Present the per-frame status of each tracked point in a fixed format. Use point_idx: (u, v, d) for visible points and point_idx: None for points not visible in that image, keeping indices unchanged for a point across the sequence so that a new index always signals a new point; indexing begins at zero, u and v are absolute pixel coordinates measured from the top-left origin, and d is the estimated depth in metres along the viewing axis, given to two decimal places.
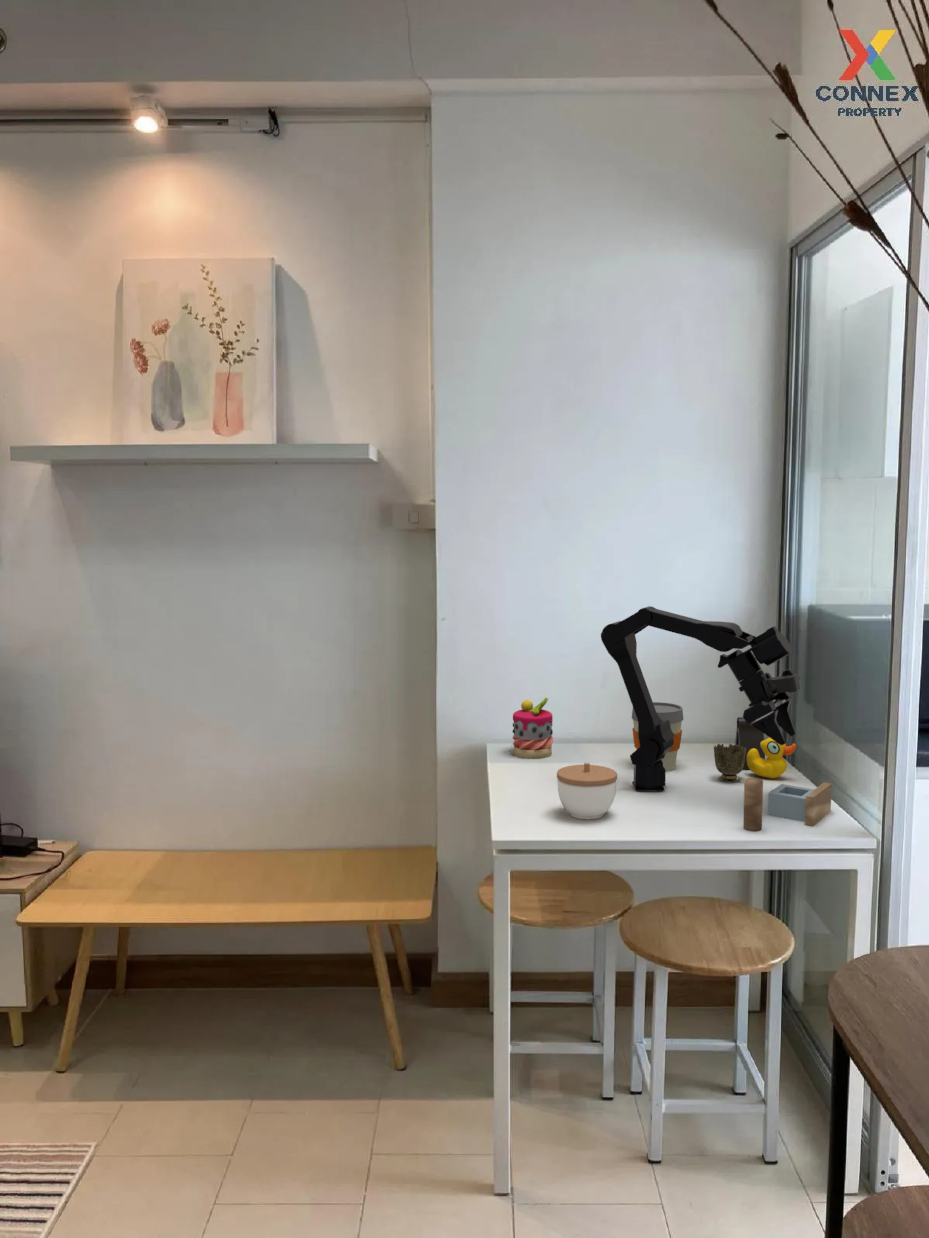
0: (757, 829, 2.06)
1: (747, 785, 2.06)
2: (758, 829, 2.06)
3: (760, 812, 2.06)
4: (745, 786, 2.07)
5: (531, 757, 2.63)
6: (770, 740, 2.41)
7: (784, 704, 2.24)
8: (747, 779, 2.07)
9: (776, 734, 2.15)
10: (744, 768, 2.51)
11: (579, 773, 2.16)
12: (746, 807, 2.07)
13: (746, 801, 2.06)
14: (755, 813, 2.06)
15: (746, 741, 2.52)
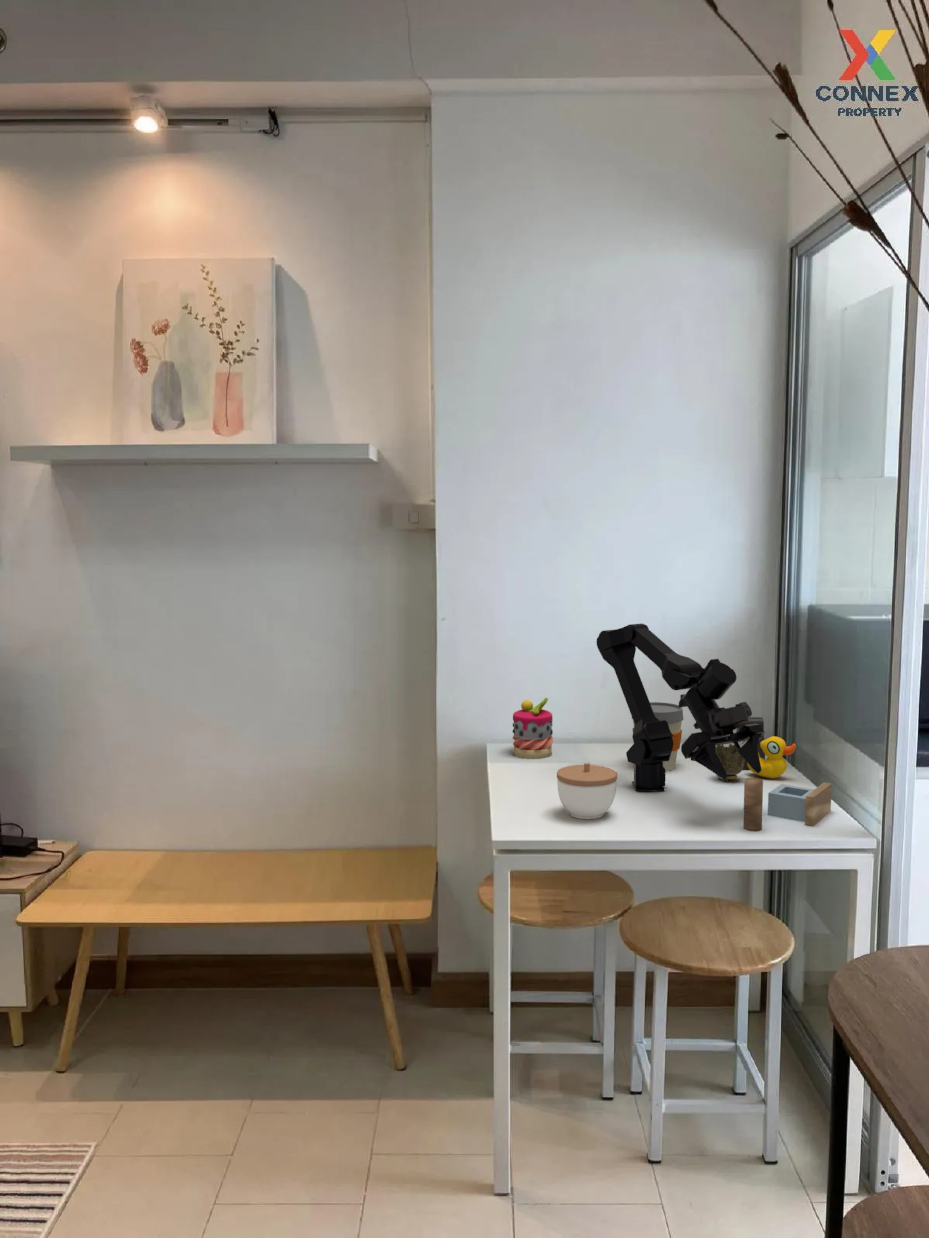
0: (757, 829, 2.06)
1: (747, 785, 2.06)
2: (758, 829, 2.06)
3: (760, 812, 2.06)
4: (745, 786, 2.07)
5: (531, 757, 2.63)
6: (770, 740, 2.41)
7: (749, 740, 2.14)
8: (747, 779, 2.07)
9: (716, 768, 2.08)
10: (744, 768, 2.51)
11: (579, 773, 2.16)
12: (746, 807, 2.07)
13: (746, 801, 2.06)
14: (755, 813, 2.06)
15: None
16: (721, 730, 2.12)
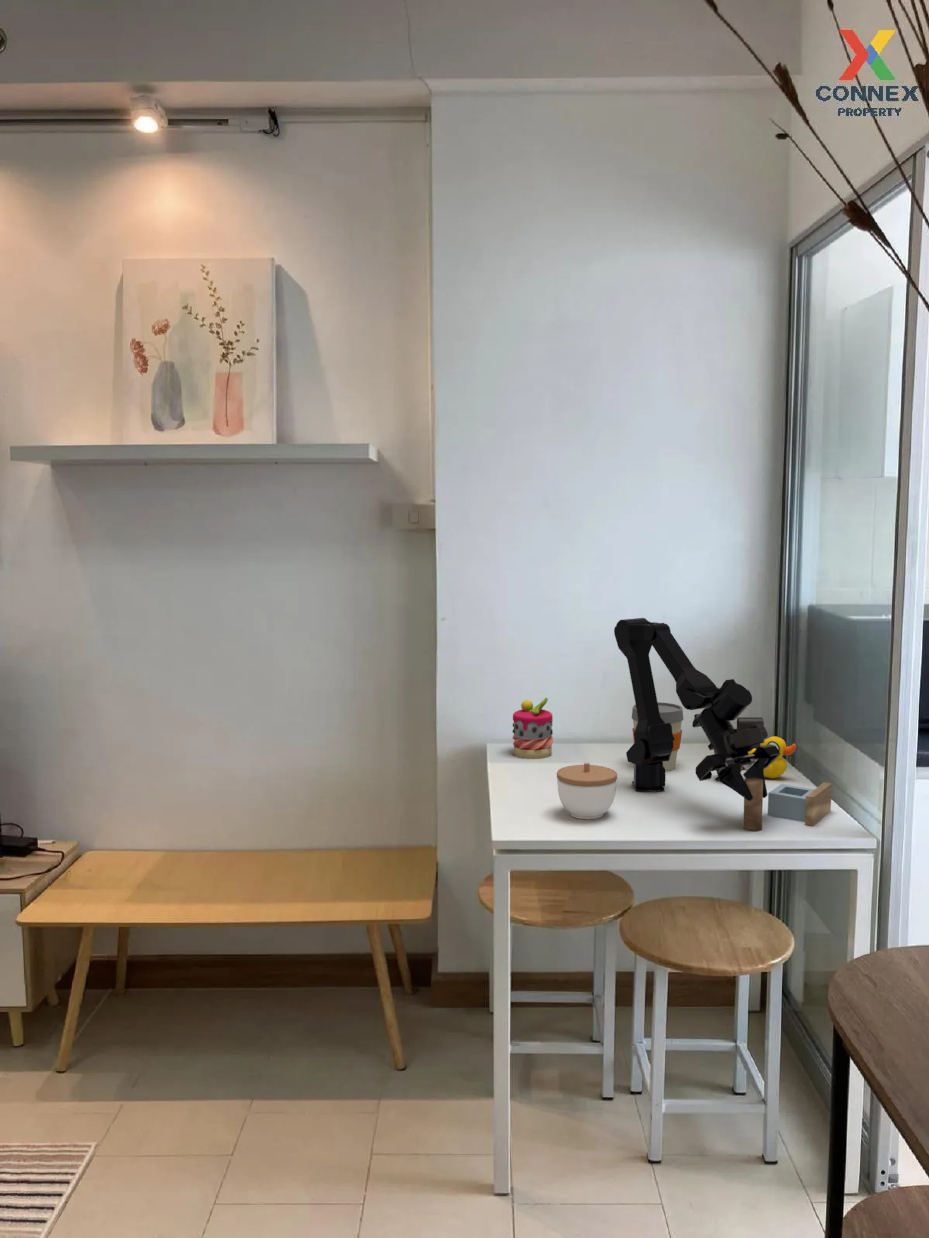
0: (757, 829, 2.06)
1: (747, 785, 2.06)
2: (758, 829, 2.06)
3: (760, 812, 2.06)
4: None
5: (531, 757, 2.63)
6: (770, 740, 2.41)
7: (755, 763, 2.09)
8: (747, 779, 2.07)
9: (741, 789, 2.06)
10: (744, 768, 2.51)
11: (579, 773, 2.16)
12: (746, 807, 2.07)
13: (746, 801, 2.06)
14: (755, 813, 2.06)
15: None
16: (736, 752, 2.09)
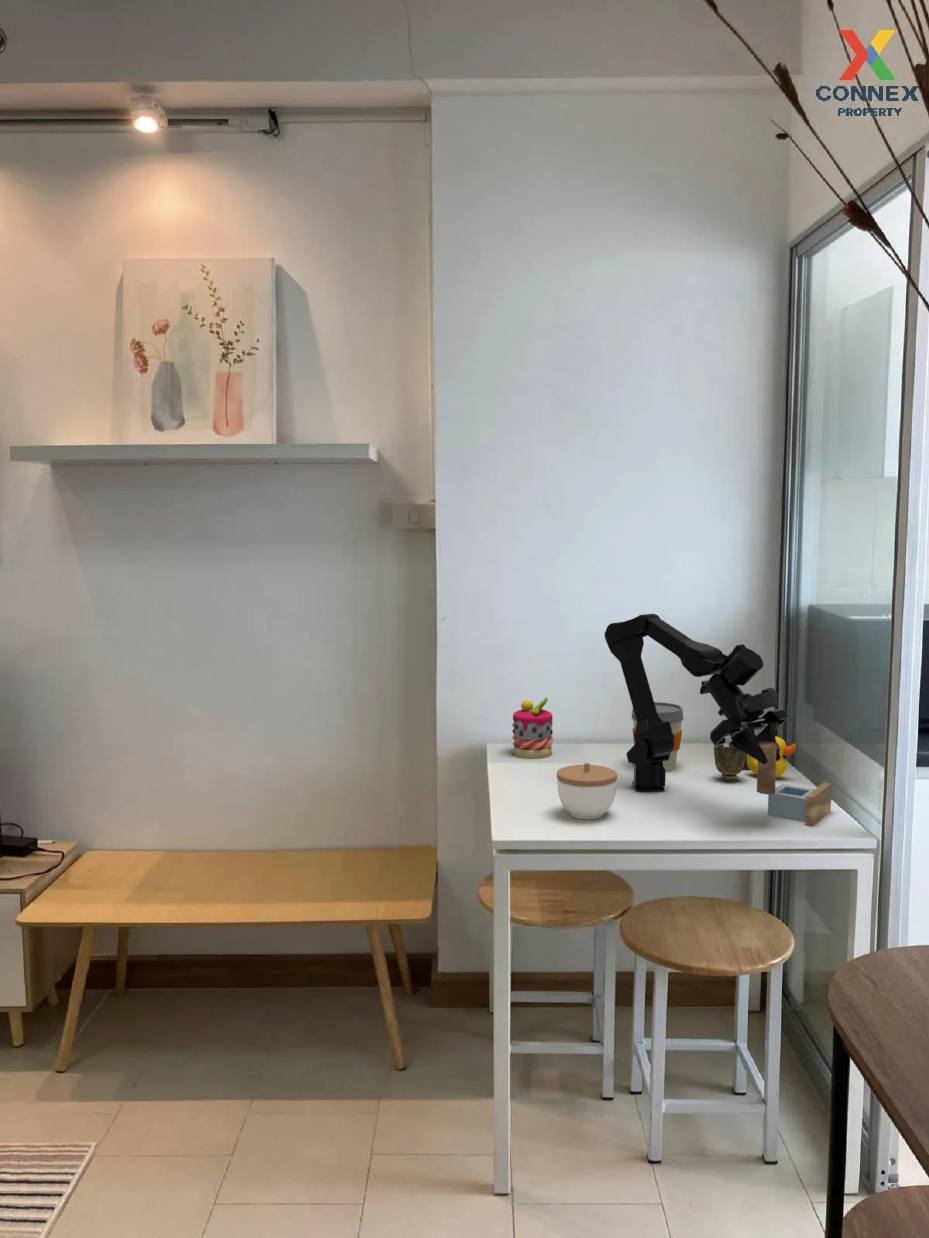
0: (771, 792, 2.07)
1: (761, 748, 2.07)
2: (772, 792, 2.08)
3: (774, 775, 2.07)
4: None
5: (531, 757, 2.63)
6: None
7: (766, 727, 2.11)
8: (760, 743, 2.08)
9: (756, 752, 2.07)
10: (744, 768, 2.51)
11: (579, 773, 2.16)
12: (760, 770, 2.08)
13: (760, 764, 2.07)
14: (770, 776, 2.07)
15: None
16: (749, 716, 2.09)
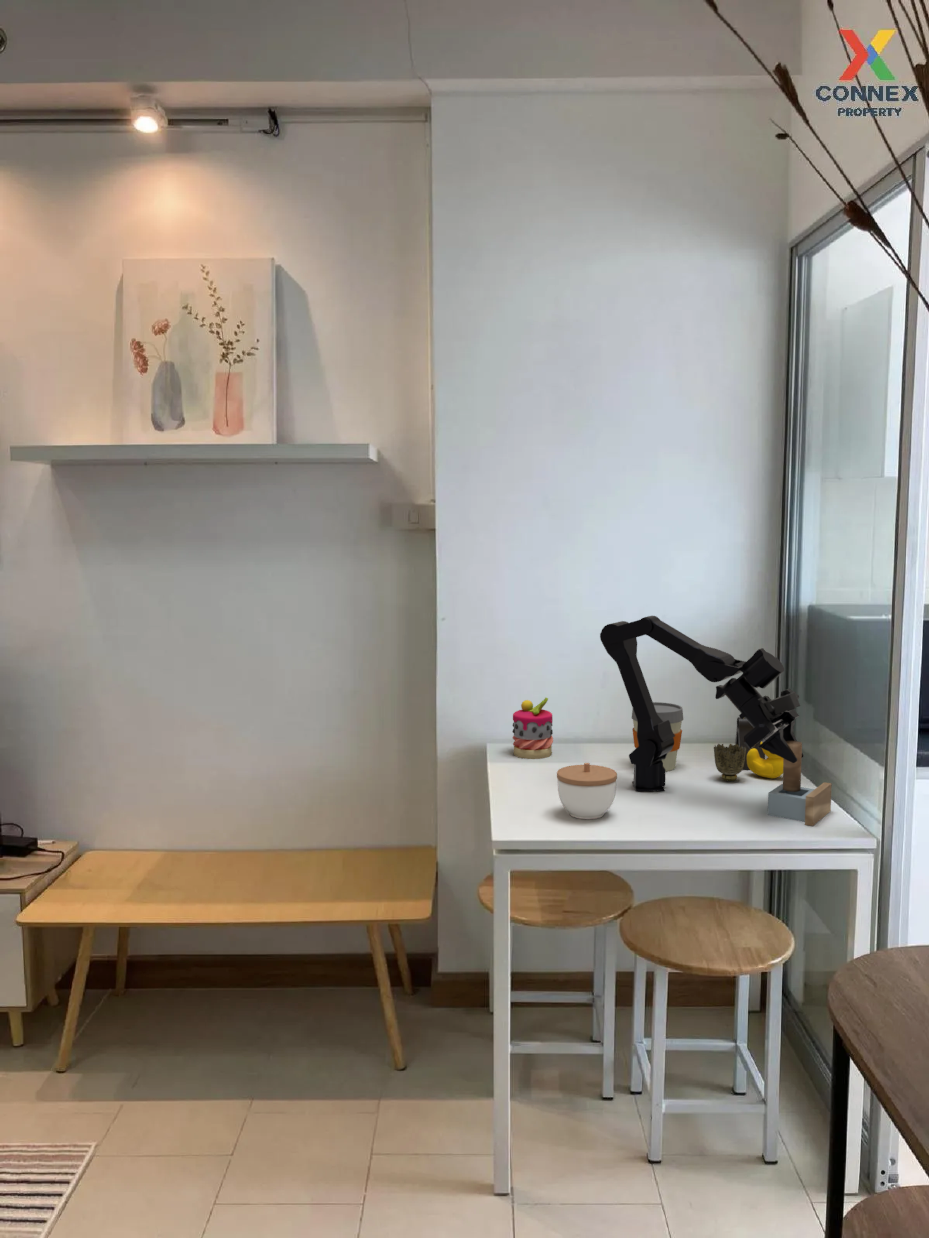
0: (799, 789, 2.15)
1: (790, 748, 2.14)
2: (799, 789, 2.16)
3: (800, 773, 2.15)
4: None
5: (531, 757, 2.63)
6: None
7: (787, 727, 2.18)
8: (787, 743, 2.15)
9: (786, 752, 2.14)
10: (744, 768, 2.51)
11: (579, 773, 2.16)
12: (789, 769, 2.15)
13: (789, 763, 2.15)
14: (798, 774, 2.15)
15: None
16: (774, 718, 2.16)
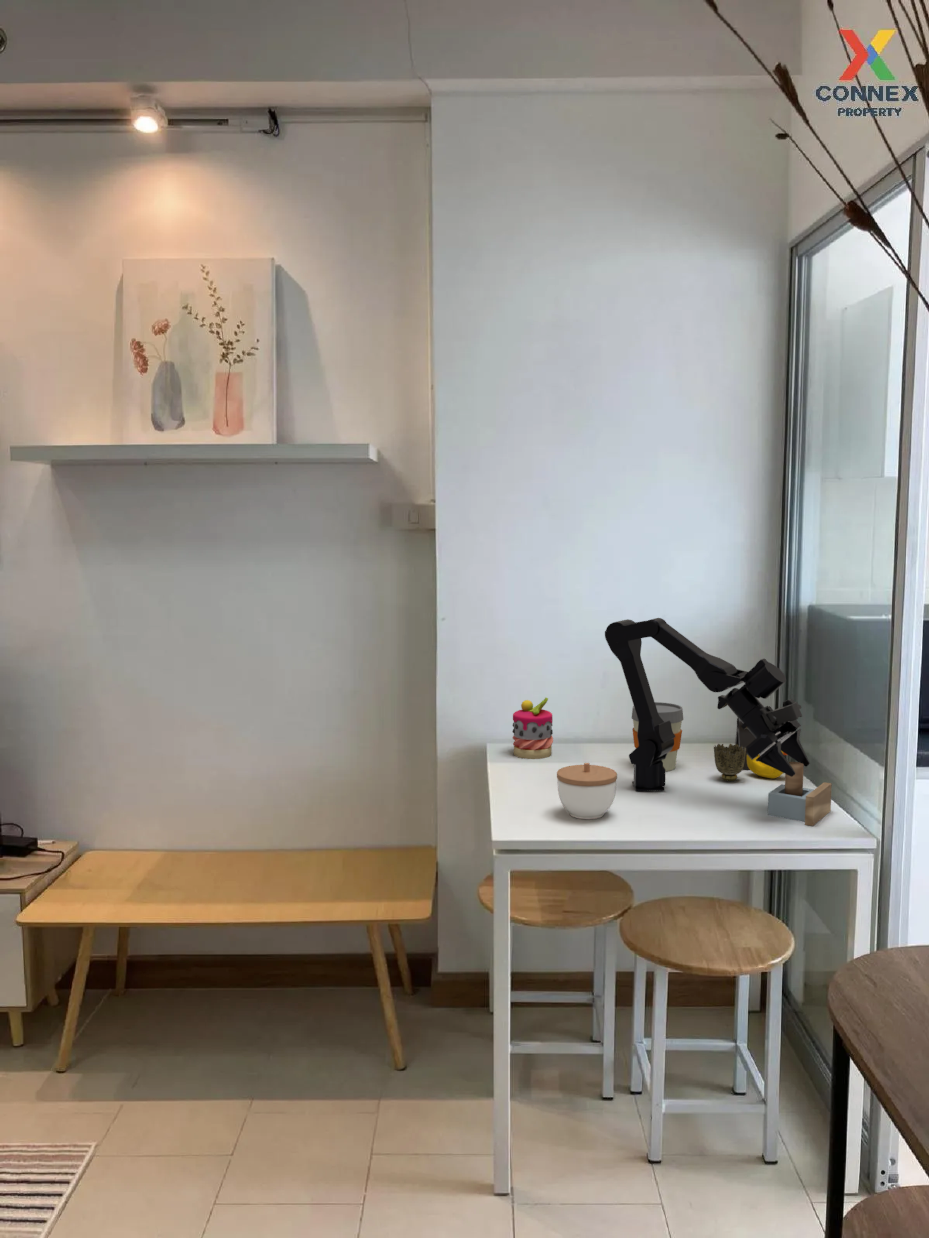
0: None
1: None
2: None
3: (802, 794, 2.16)
4: None
5: (531, 757, 2.63)
6: None
7: (793, 735, 2.21)
8: None
9: (784, 766, 2.11)
10: (744, 768, 2.51)
11: (579, 773, 2.16)
12: (791, 791, 2.15)
13: (791, 785, 2.15)
14: (800, 795, 2.15)
15: (746, 741, 2.52)
16: (776, 728, 2.16)
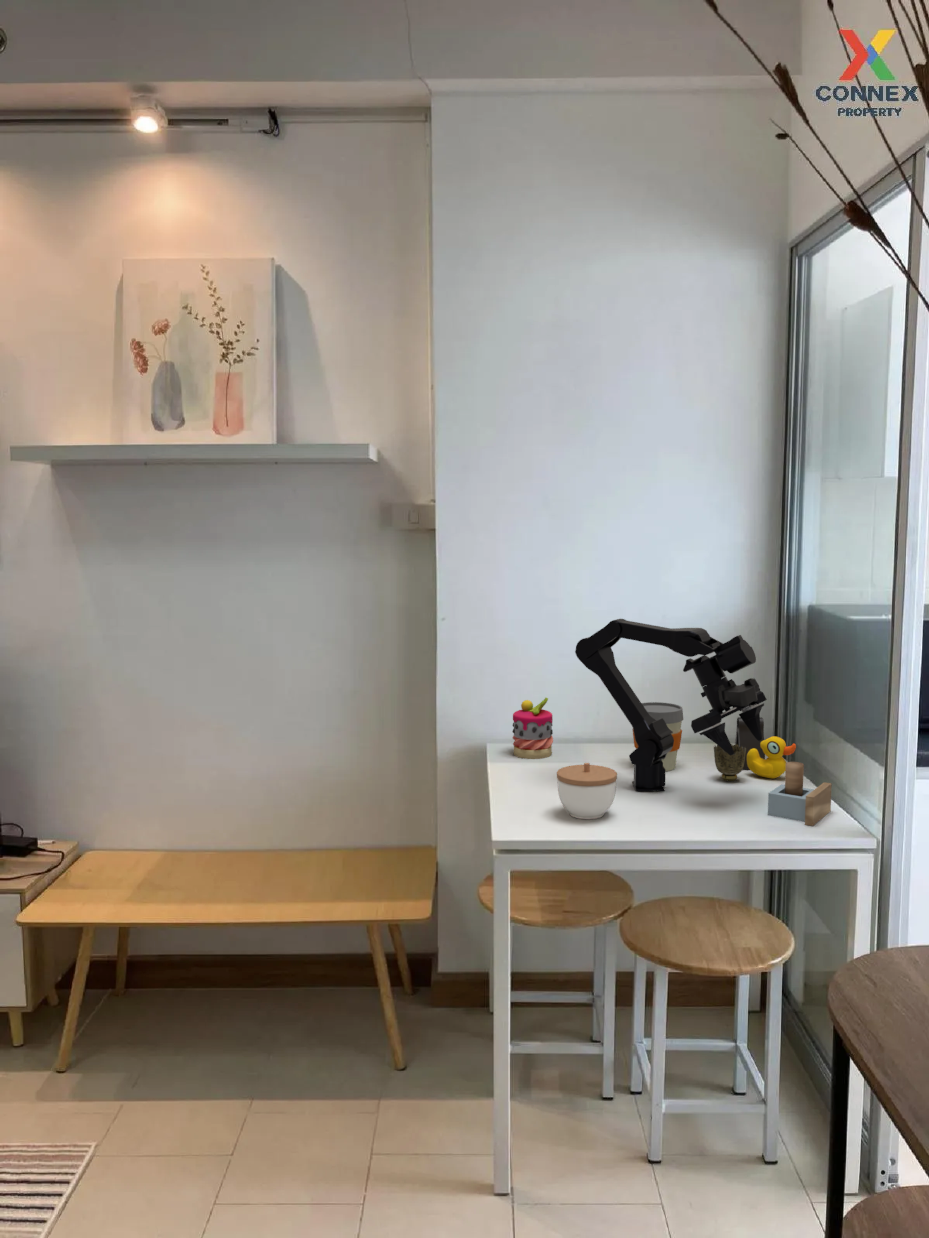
0: None
1: (791, 769, 2.14)
2: None
3: (802, 794, 2.16)
4: (789, 771, 2.15)
5: (531, 757, 2.63)
6: (770, 740, 2.41)
7: (753, 709, 2.25)
8: (788, 764, 2.16)
9: (724, 745, 2.20)
10: (744, 768, 2.51)
11: (579, 773, 2.16)
12: (791, 790, 2.15)
13: (791, 784, 2.15)
14: (800, 795, 2.15)
15: (746, 741, 2.52)
16: (729, 706, 2.21)
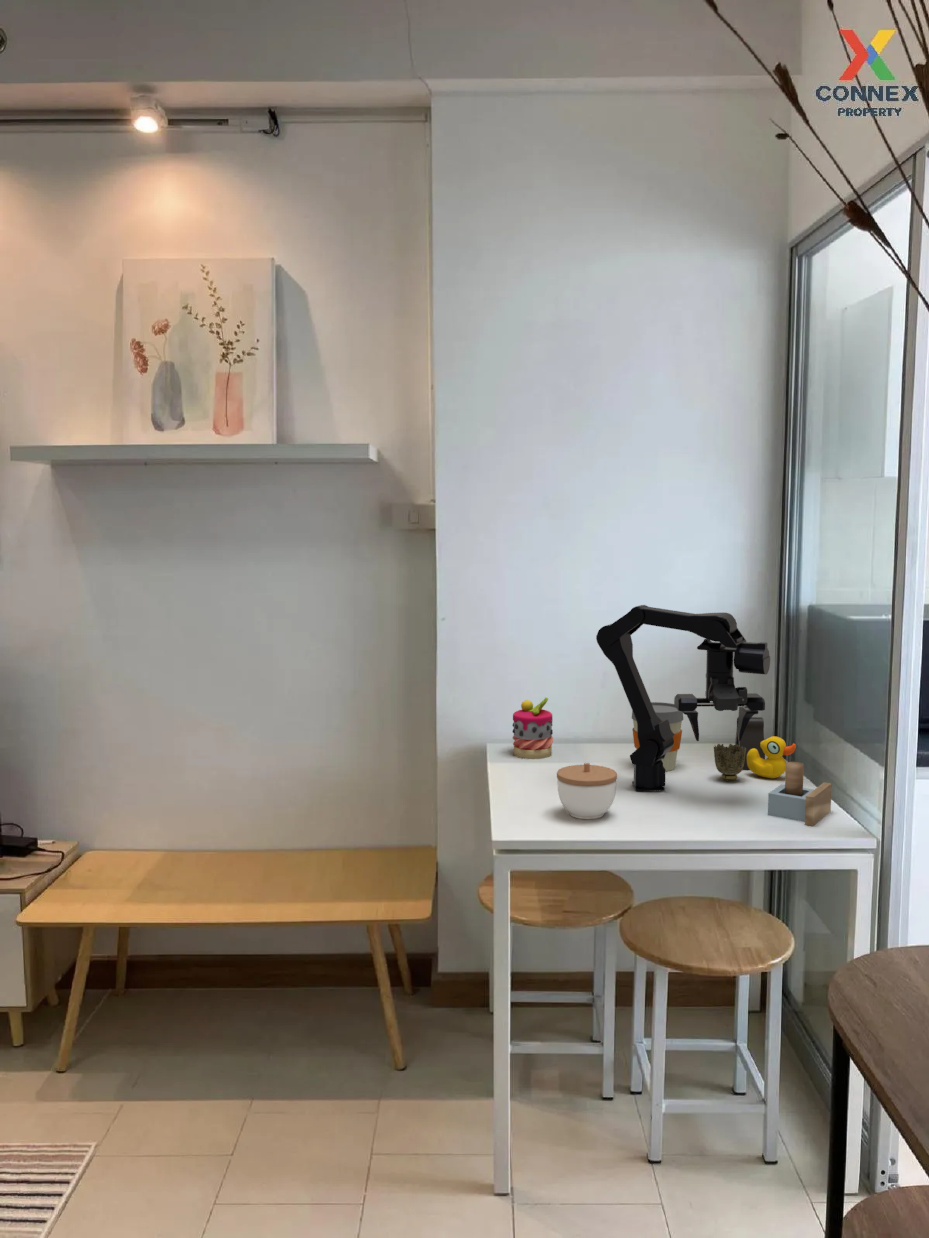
0: None
1: (791, 769, 2.14)
2: None
3: (802, 794, 2.16)
4: (789, 771, 2.15)
5: (531, 757, 2.63)
6: (770, 740, 2.41)
7: (744, 712, 2.24)
8: (789, 764, 2.16)
9: (693, 729, 2.27)
10: (744, 768, 2.51)
11: (579, 773, 2.16)
12: (791, 790, 2.15)
13: (791, 784, 2.15)
14: (800, 795, 2.15)
15: (746, 741, 2.52)
16: None
